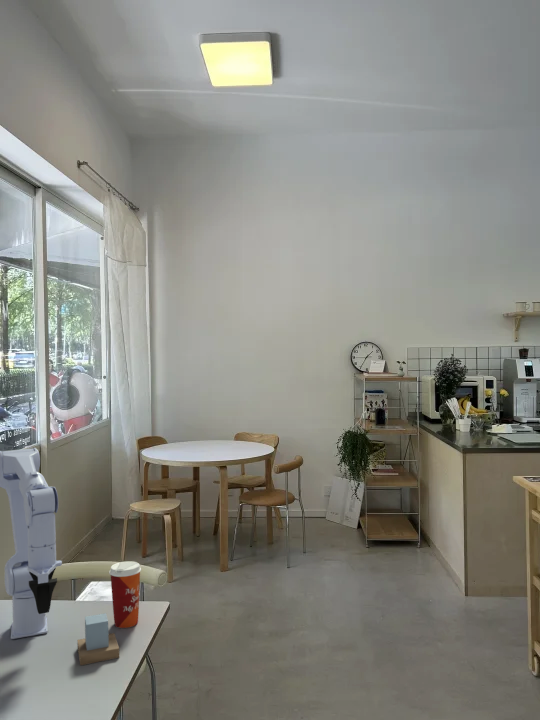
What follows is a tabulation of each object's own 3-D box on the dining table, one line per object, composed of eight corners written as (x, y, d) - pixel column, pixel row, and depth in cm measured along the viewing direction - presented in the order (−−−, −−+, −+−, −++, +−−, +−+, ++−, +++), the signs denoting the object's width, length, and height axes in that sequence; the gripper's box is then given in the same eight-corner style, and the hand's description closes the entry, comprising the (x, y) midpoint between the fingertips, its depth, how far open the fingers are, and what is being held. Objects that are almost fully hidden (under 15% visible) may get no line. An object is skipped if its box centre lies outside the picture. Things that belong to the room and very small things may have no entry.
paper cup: (134, 631, 139) (133, 571, 139) (104, 629, 140) (103, 570, 140) (147, 617, 146) (146, 560, 147) (119, 615, 148) (118, 559, 148)
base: (77, 648, 130) (77, 639, 131) (114, 641, 134) (114, 632, 134) (80, 665, 123) (80, 655, 123) (119, 657, 126) (119, 648, 126)
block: (85, 641, 130) (84, 616, 130) (106, 637, 131) (105, 613, 131) (86, 650, 125) (86, 624, 125) (108, 646, 127) (108, 621, 127)
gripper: (62, 549, 124) (64, 614, 123) (59, 533, 137) (61, 592, 137) (26, 554, 121) (28, 621, 121) (27, 537, 135) (28, 597, 134)
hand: (43, 606), depth 129 cm, fingers open, 7 cm apart
